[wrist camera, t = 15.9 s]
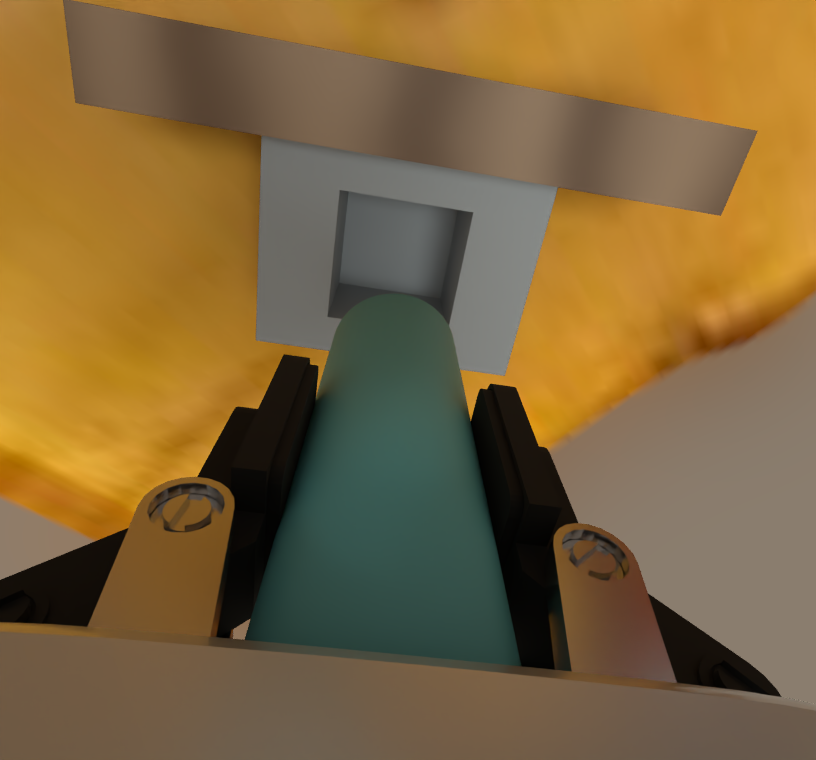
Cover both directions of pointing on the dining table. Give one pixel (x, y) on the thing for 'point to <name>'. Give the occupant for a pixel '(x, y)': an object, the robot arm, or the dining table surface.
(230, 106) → the backstop wall
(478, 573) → the dowel
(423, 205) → the socket block
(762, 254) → the dining table surface
